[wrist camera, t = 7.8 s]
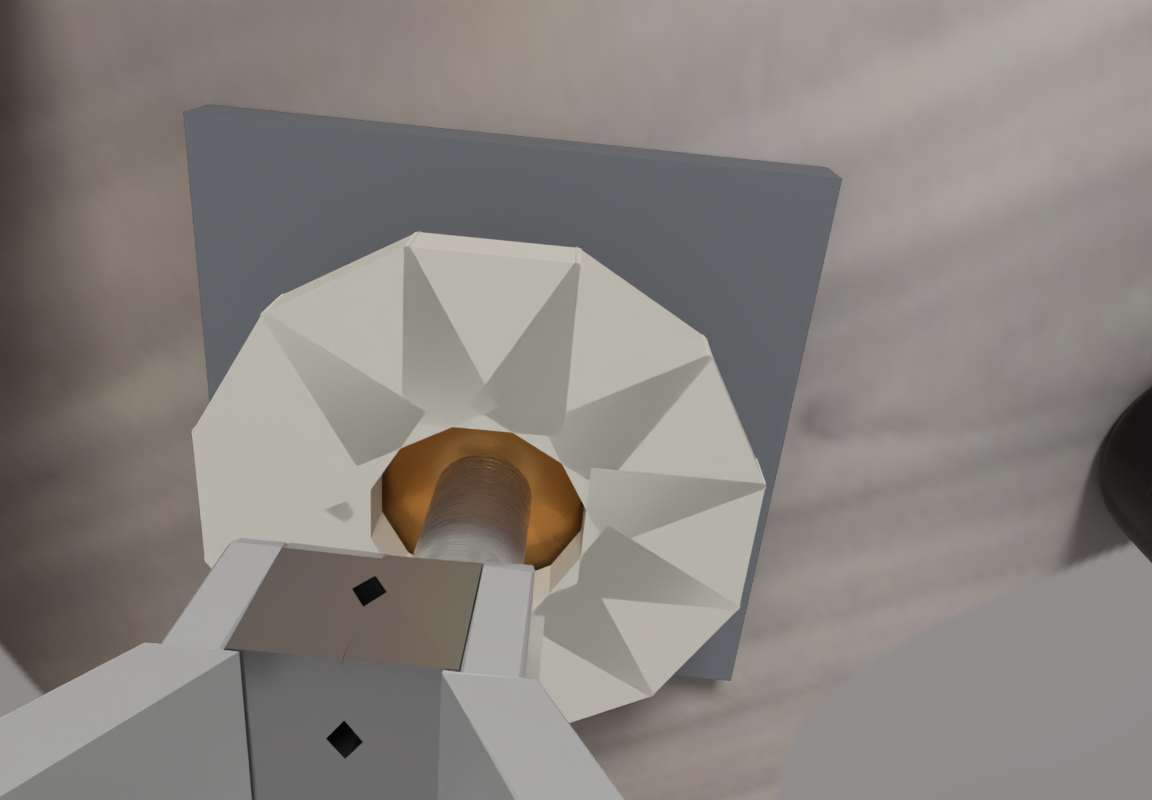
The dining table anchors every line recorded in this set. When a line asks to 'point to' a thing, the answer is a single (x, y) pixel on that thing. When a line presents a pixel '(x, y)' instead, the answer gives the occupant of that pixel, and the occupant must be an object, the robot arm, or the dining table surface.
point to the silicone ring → (508, 404)
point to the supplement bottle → (1131, 473)
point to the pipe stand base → (523, 214)
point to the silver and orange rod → (480, 499)
